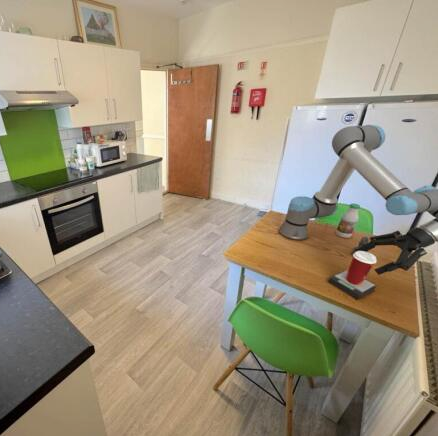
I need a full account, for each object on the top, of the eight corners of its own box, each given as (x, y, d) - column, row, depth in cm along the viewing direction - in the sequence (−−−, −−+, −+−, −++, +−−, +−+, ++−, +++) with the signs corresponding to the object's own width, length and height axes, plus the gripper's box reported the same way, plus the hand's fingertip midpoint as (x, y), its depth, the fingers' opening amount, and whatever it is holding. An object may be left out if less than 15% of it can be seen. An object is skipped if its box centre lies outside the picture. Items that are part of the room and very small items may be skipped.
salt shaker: (363, 253, 128) (372, 234, 122) (366, 259, 123) (376, 240, 118) (349, 251, 130) (357, 232, 125) (352, 257, 125) (361, 237, 120)
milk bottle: (335, 230, 150) (346, 201, 140) (350, 233, 146) (363, 203, 136) (335, 235, 144) (347, 205, 135) (351, 239, 140) (364, 208, 131)
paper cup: (368, 288, 102) (382, 262, 95) (348, 285, 103) (360, 260, 97) (358, 275, 108) (370, 250, 102) (339, 274, 110) (350, 249, 103)
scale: (344, 274, 114) (346, 269, 113) (373, 290, 104) (376, 285, 103) (328, 281, 110) (330, 276, 109) (357, 299, 100) (360, 294, 99)
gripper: (462, 260, 81) (391, 288, 91) (407, 225, 102) (354, 250, 112) (452, 246, 79) (380, 276, 89) (398, 213, 101) (345, 240, 111)
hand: (366, 261), depth 101 cm, fingers open, 13 cm apart
